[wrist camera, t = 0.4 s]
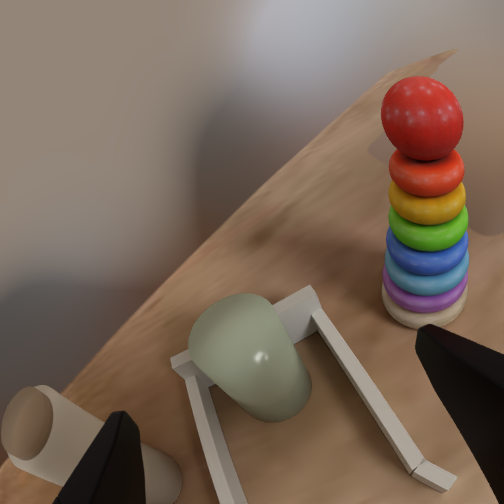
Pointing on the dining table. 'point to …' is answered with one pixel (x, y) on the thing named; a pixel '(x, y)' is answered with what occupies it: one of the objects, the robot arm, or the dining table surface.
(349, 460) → the dining table surface
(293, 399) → the grey-green cylinder
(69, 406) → the cream jar
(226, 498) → the white u-shaped frame
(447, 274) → the stacking toy
